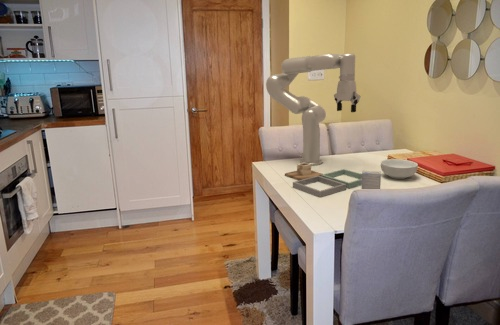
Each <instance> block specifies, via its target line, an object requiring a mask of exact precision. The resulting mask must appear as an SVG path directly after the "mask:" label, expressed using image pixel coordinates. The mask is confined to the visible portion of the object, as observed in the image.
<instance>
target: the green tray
mask: <svg viewBox="0 0 500 325" xmlns="http://www.w3.org/2000/svg"><path fill="white" fill-rule="evenodd" d="M343 175H345V176H348V177H351V178H355V179H356V180H353V181H349V182H348V181H346V180H342V179H339V178H337V177H339V176H343ZM321 177H324V178H327V179H331V180H334V181H337V182H340V183H344V184H346V189H353V188H356V187H358V186H362V173H360V172H356V171H352V170H348V169H345V168H341V169H337V170H334V171H331V172H326V173H322V175H321Z"/></svg>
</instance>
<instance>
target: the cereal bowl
mask: <svg viewBox="0 0 500 325" xmlns="http://www.w3.org/2000/svg"><path fill="white" fill-rule="evenodd" d="M418 166H419V165H418V163H417V162H415V161H412V160H407V159H402V158H401V159H399V158H387V159H384V160H381V162H380V168H381V171H382V172H383V173H384V175H387V176H389V177H390V178H392V179H396V180H398V179H399V180H405V179H406V178H409V177H413V176H414V175H415V174H416V173H417V172H418Z"/></svg>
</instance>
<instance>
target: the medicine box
mask: <svg viewBox="0 0 500 325" xmlns="http://www.w3.org/2000/svg"><path fill="white" fill-rule="evenodd" d="M361 174H362V185H361V189H380V190H381V182H382V180H381V179H382V172H381V171H379V170H362V173H361Z"/></svg>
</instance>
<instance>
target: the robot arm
mask: <svg viewBox="0 0 500 325" xmlns="http://www.w3.org/2000/svg"><path fill="white" fill-rule="evenodd" d="M280 66H281V67H280V68H281V73H276V74H272V75H270V76H268V77H267V79H266V82H265V87H266V92H267V93H268V95H269V97H271V98H272V99H273V100H275V101H276V102H277V103H279V104H280V105H281V106H283V107H284V108H286V109H287V110H288V111H290V112H291V113H292V114H295V115H299V114H301V124H302V138H303V139H302V151H303V152H302V153H301V154H300V155H299V158H301V159H300V163H308V164H311V166H318V165H319V166H320V165H321V164H323V163H324V162H323V161H324V160H322V159H321V157H320V156H321V128H320V123H322V122H323V121H324V120H325V119H326V111H325V110H326V109H324V108H323V106H321V105H320V104H318V103H317V102H315V101H314V100H312V99H310V98H309V97H307V96H304V95H301V96H296V95H295V94H293V93H292V92H290V91H288V90H287V89H286V88H287V87H289V86H290V85H291V84H292V82H293V81H294V80H295V79H296V78H297V77H298V75H300V74H304V73H305V74H306V73H311V72H315V71H323V70H325V71H326V70H336V69H339V76H338V79H339V81H338V83H337V85H336V86H337V87H336V93H334V94H333V98H334V101H335V103H336V111H337V112H341V111H343V103H342V102H343V101H344V102H345V101H346V102H350V103H351V104H350V112H351V113H356V112H357V105H358V103H359V102H360V99H361V95H359V94H358V93H357V83H356V80H355V77H356V75H355V73H356V54H354V53H342V54H340V53H327V54H326V53H325V54H319V55H312V56H311V55H307V56H306V55H305V56H298V57H292V58H290V57H289V58H287V59H284V60H283V61H282V62H281V65H280Z"/></svg>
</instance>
